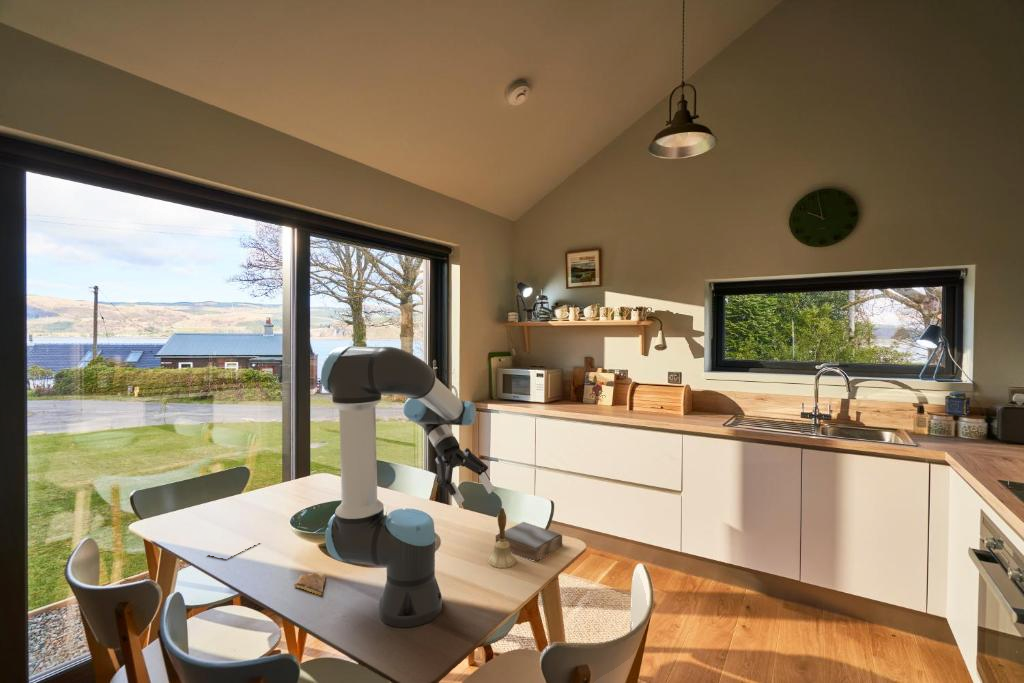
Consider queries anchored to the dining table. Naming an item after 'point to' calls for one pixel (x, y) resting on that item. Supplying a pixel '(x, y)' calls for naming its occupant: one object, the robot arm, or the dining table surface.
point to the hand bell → (502, 546)
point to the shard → (311, 582)
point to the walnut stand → (531, 541)
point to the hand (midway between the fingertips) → (477, 497)
